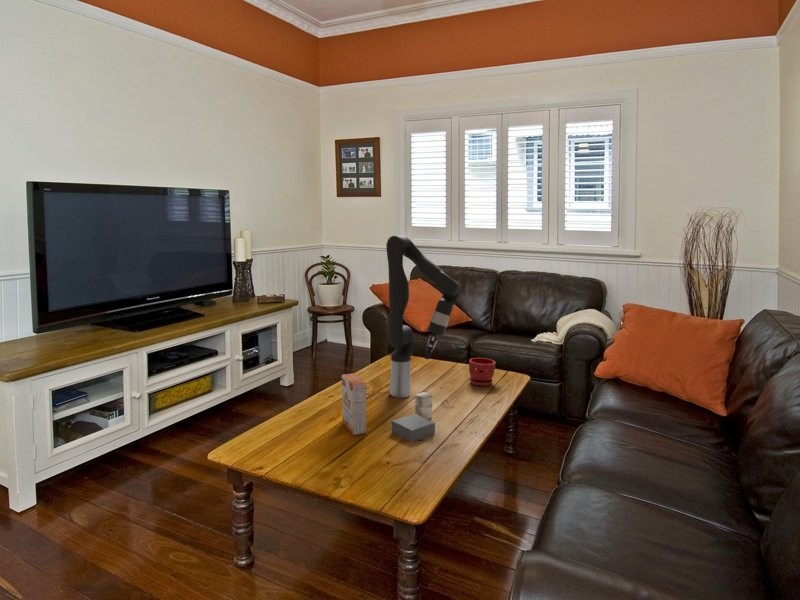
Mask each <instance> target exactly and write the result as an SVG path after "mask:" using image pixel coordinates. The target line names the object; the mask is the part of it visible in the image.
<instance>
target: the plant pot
mask: <svg viewBox="0 0 800 600" xmlns="http://www.w3.org/2000/svg"><path fill="white" fill-rule="evenodd" d="M495 369H496V361H495V360H493V359H491V358H486V357H474V358H472V357H471V358H470V359H469V362H468V371H469V375H470V378H469V382H470V383H471V384H473V385H475V386H479V385H480V387H481V386H483V387H486V386H489V385H491V384H492V383H493V376H494V374H495V371H496V370H495Z"/></svg>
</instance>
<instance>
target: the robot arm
mask: <svg viewBox="0 0 800 600" xmlns="http://www.w3.org/2000/svg"><path fill="white" fill-rule="evenodd" d="M385 245H386V255H387V256H386V258H387V265H388V302H389V305H388V306H389V307H388V309H389V312H388V313H389V315H388V316H389V317H388V326H387V327H388V328H387V340H388V343H389V344H390V346H392V347H393V348H395V350H393V351H392V353H391V355H390V358H391V359H390V374H389V394H390V395H391V397H394V398H397V399H398V398H401V399H403V398H404V399H405V398H408V397H410V396H411V369H412V365H411V363H412V361H411V360H412V359H411V358H412V355H413V352H414V351H413V350H414V349H413V348H414V332H413V330H412V328H411V327H410V326H408V325H406V324H403V322H404V319H403V318H404V315H405V311H406V309H407V306H408V302H409V300H410V299H409V298H410V286H409V281H408V278H407V276H406V273H405V272H406V271H405V270H404V264H403V263H404V257H406V258H407V259H408V260H410V261H411V262H413V264H414V265H415V267H417V269H418V271H419V272H420V274H422V275H423V276H424V277H425V278H426V279H428V281H430V282H431V283H433V284H434V285H435V286H436V287H437V288H438V289H439V290H440V291H441V292H442V295H441V298H440V299H439V300H438V301H437V304H436V307H435V309H434V312H433V314H432V316H431V319H430V321H429V325H428V327H427V331H428V332H430V333H431V335H429V336H428V339H427V340H428V341H427V344H426V351H425V354H424V357H423V358H424V359H425V360H430V358H431V355H432V352H433V350H434V349H435V347H436V345H437V343H438V341H439V336H441V337H443V336H444V335H445V332H446V330H447V327H448V324H449V321H450V316H451V313H452V312H453V308H454V305H455V303H456V302H457V300H458V298H459V296H460V293H461V288H462V287H461V284H460V283H459V282H458V281H456V280H455V279H453V278H451V277H450V276H449V275H448V274H446V273H445V271H444V270H443V269H442V268H440V267H439V266H438V265H436V263H434V262H433V261H432V260H430V259H429V258H428V257H427V255H425V254H424V253H423V252H422V251H421V250H420V249H419V248H418V247H417V246H416V245H415V244H414V242H413V241H412V240H411V239H410V238H409V237H408V236H406V235H405V234H404V235H403V234H400V235H399V234H397V235H396V234H395V235H391V236H389V238H388V239H387V242H386V244H385Z"/></svg>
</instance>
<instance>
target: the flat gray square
mask: <svg viewBox="0 0 800 600" xmlns="http://www.w3.org/2000/svg"><path fill="white" fill-rule="evenodd" d="M391 433H393V434H395V435H397V436H399V437H401V438H402V439H405V440H406V441H408V442H410V443H413V442H416V441H418V440H422V439H425V438H427V437H431V436H433V435H435V434H436V422H434V421H431V420H429V419H425V418H423V417H421V416H419V415H416V414H415V413H413V414H410V415H407V416H404V417H400V418H397V419H393V420H391Z"/></svg>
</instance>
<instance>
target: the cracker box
mask: <svg viewBox="0 0 800 600" xmlns="http://www.w3.org/2000/svg"><path fill="white" fill-rule="evenodd" d="M341 401H342V402H341V404H342V406H341V407H342V408H341V409H342V411H341V412H342V413H341V414H342V423H343V425H344V427H346V428H347V430H348V431H349V432H350V433H351V434H352V436H356V435H357V436H358V435H362V434H364V435H365V434H367V383H366V382H365V381H364V380H362V378H361V377H359V376H358V375H357V374H356V373H343V374H341Z"/></svg>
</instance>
